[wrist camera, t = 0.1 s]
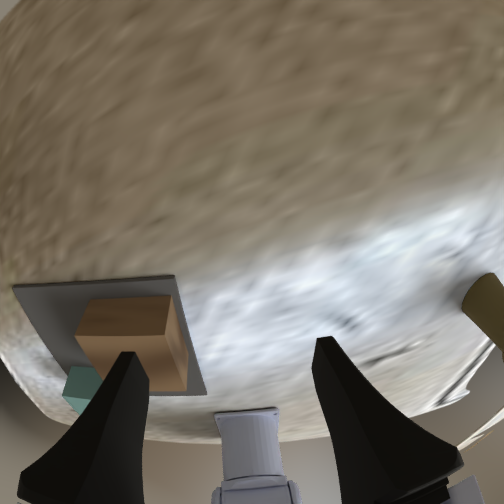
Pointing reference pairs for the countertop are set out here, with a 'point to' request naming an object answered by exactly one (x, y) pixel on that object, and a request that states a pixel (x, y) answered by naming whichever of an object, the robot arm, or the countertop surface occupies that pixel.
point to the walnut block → (136, 338)
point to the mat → (73, 307)
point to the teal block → (81, 387)
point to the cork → (487, 307)
